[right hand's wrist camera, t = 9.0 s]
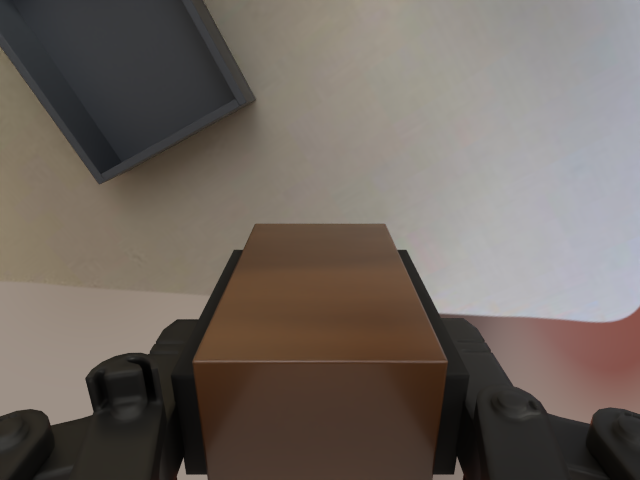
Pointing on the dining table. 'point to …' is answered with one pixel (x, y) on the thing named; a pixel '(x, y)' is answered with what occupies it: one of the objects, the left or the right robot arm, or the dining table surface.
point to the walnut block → (320, 361)
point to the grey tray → (123, 73)
